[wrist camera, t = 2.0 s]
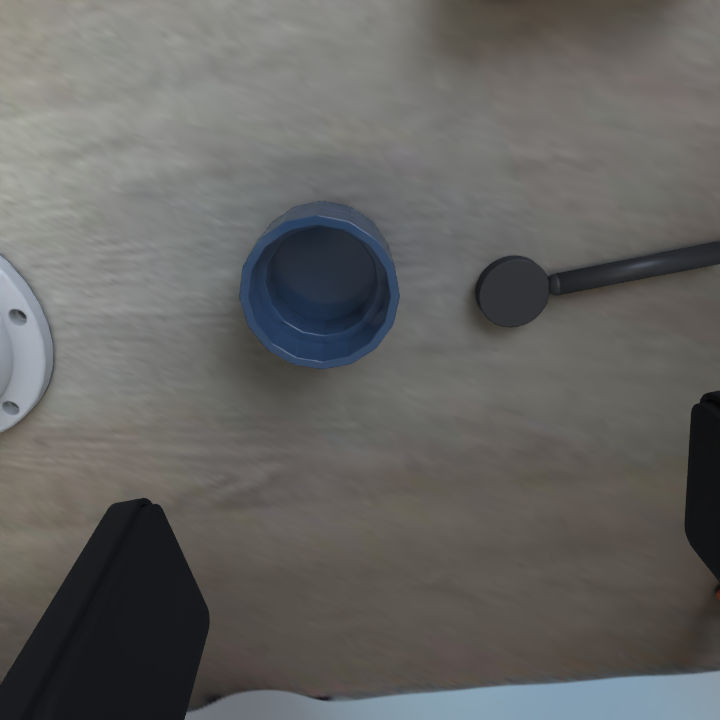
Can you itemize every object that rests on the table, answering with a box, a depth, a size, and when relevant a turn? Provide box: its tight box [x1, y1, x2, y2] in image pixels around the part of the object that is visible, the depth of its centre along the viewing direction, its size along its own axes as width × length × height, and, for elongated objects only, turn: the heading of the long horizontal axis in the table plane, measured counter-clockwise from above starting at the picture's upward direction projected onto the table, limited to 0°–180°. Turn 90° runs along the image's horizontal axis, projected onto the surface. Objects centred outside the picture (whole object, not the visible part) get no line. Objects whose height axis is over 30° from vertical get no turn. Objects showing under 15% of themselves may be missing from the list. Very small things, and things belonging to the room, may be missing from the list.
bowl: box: [239, 201, 400, 369], centre depth 25 cm, size 7×7×5 cm
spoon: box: [476, 242, 720, 327], centre depth 27 cm, size 13×4×1 cm, turn 101°
